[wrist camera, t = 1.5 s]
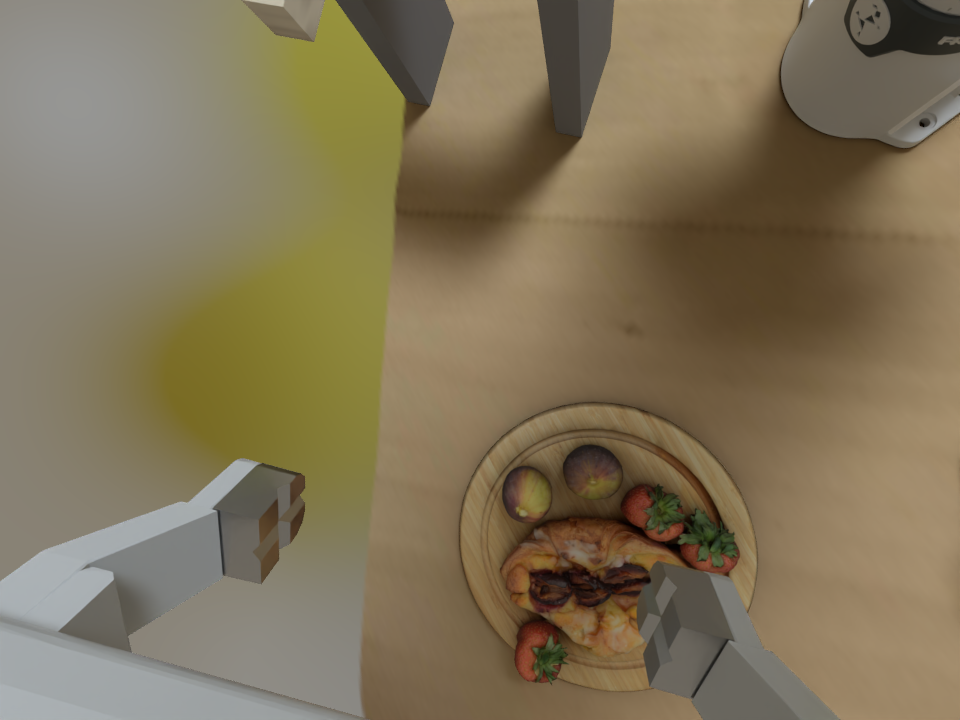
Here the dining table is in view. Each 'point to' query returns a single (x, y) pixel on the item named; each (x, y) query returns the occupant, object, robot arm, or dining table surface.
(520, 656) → the wooden plate with food
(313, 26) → the maple bar
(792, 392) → the dining table surface
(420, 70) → the grey arch
